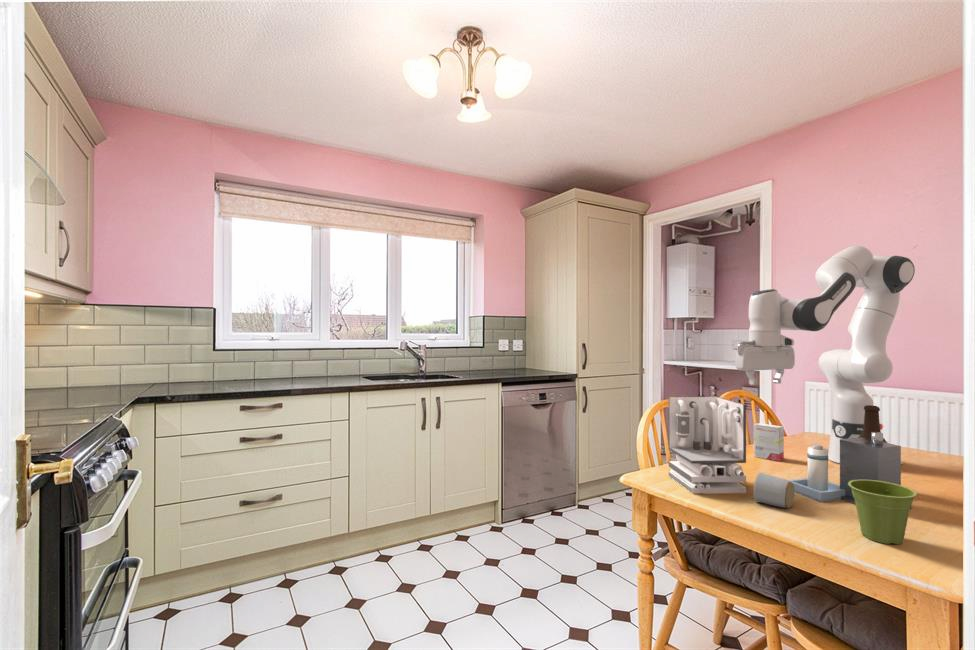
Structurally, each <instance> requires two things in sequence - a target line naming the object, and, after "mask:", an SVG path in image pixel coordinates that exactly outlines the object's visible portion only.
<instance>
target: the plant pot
mask: <svg viewBox="0 0 975 650" xmlns="http://www.w3.org/2000/svg"><path fill="white" fill-rule="evenodd" d="M848 485H849V486H850V487H851V489H852V494H853V497H854V498H855V503H856V505H855V507H856V512H857V517H858V523H859V526H860V531H861V534H862V535H863V536H865V538H867V539H869V540H871V541H873V542H878V543H880V544H886V545H887V544H888V545H889V544H894V545H900V544H903V543H904V540H905V534H906V529H907V524H908V519H909V515H910V510H911V509H910V507H911V508H912V505H913V501H914V498H915V497H918V496H917V495H918V494H917V492H916V491H915V490H913V489H912V488H909V487H906V486H904V485H902V484H901V485H897V484H893V483H889V482H883V481H877V480H852V481H849V482H848Z"/></svg>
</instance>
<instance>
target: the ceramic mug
mask: <svg viewBox="0 0 975 650" xmlns="http://www.w3.org/2000/svg"><path fill="white" fill-rule="evenodd" d="M788 480H789V479H786V478H781V477H778V476H774V475H771V474H768V473H764V472H758V474H757V475H756V476H755V479H754V485H753V499H754V501H756V502H757V503H763V504H765V505H770V506H775V507H778V508H783V509H784V508H785V509H789V508H791V507H792V505H793V502H794V499H795V492H794V485H793V483H792V482H790V481H788Z"/></svg>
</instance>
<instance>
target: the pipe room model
mask: <svg viewBox="0 0 975 650" xmlns="http://www.w3.org/2000/svg"><path fill="white" fill-rule="evenodd" d="M668 451H671V452H672V453H674V454H675V455H676V456H675V457H676V460H674V461H673V460H670V461H668V467H669V468H670V471H668V477H669V476H670V477H671V478H670V477H669V478H670V479H672V478H673V479H674V480H675V482H676V481H677V482H678V483H679V484H678V483H677V482H676V483H677V484H678V485H680V484H681V485H682V486H683V487H685V488H686V489H687V490H689V491H690V492H691V493H703V494H747V487H746V486H744V485H743V484H740V483H746V482H747V476H746V475H745V473H744V470H743V468H742V465H740V464H746V463H747V404H745V403H741V402H737V401H734V400H731V399H726V398H724V397H721V396H668ZM673 479H672V480H673ZM674 480H673V481H674ZM681 485H680V486H681ZM682 486H681V487H682ZM683 487H682V488H683ZM685 488H684V489H685ZM686 489H685V490H686ZM687 490H686V491H687ZM689 491H688V492H689ZM690 492H689V493H690ZM691 493H690V494H691Z"/></svg>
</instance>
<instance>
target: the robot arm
mask: <svg viewBox="0 0 975 650" xmlns="http://www.w3.org/2000/svg"><path fill="white" fill-rule="evenodd" d="M915 271H916V270H915V265H914V263H913V261H912V259H910V258H909V257H905V256H901V255H884V254H882V255H877V254H876V255H875V254H874V255H873V253H872V252H871V251H870V249H868V248H866V247H865V246H862V245H851V246H849V247H846V248H844V249H842V250H840V251H839V252H837V253H835V254H834V255H833V256H831V257H830V258H828V259H827V260H826V261H824V262H823V263H822V264H821V265H820V266H819V267H818V269H817V270H816V272H815V275H814V277H815V282H816V284H817V285H818V287H819V288H820V289H821V290H822V292H821V293H820V294H819V295H817V296H815V297H810V298H803V299H802V298H800V299H789V298H786V297H784V296H783V295H781V294H780V293H779V291H778V290H777V289H774V288H773V289H772V288H771V289H764V290H758V291H755V292H753V293H751V295H750V297H749V303H748V320H749V329H748V340H747V341H746V340H743V341H740V342H739V343H738V344H737V348H736V352H735V353H736V355H735V364H734V365H735V366H734V367H735V368H736V370H737V371H743V372H745V375H746V377H747V378H748V384H749V385H751V386H756V385H758V379H757V378H755V372H756V371H769V370H774V371H775V373H776V374H775V376H774V377H772V383H773V384H777V385H779V384H782V378H783V376H784V374H785V370H792V369H793V368H794V366H795V363H796V359H795V349H794V347H793V346H794V345H795V340H794V339H793V338H791V337H789V336H785V335H783V334H782V331H784V330H785V331H806V332H807V331H808V332H819V331H822V330H823V329H824V328H825V327H827V325H828V324H829V322H830V320H831V319H832V316H833V315H834V313H835V312H836V311H837V310H838V309H839V307H840V306H841V305H842V304H843V303H844V302H845V301H846V299H848V298H849V297H850V295H851V294H852V293H853V291H854V289H856V287H857V288H863V289H864V291H863V294H862V296H861V297H860V299H859V301H858V303H857V305H856V307H855V309H854V312H853V314H852V317H851V318H850V319H851V320H850V321H849V324H848V326H847V332H848V334H849V335H850V337H851V345H850V348H849V349H847V348H835V349H832V350H831V349H830V350H827V351H824V352H823V353H822V354H821V355H820V356H819V358H818V368H819V370H820V372H821V373H823V375H824V377H826V380H827V382H828V384H829V388H830V390H831V394H832V400H833V401H832V404H833V419H831V421H832V422H831V429H832V430H833V431H832V432H831V433H830V437H829V446H828V461H831V462H834V463H837V464H840V439H849V438H858V437H859V436H860V435H861V434H862V432H863V428H864V415H865V410H864V406H866V405H873V406H874V400H873V398H872V396H870V394H869V393H867V391H866V389H865V387H864V384H876V383H882V382H883V383H884V382H885V381H887V380H888V379H889V378H890V377H891V376H892V374H893V369H894V368H893V367H894V366H893V362H892V360H890V358H889V357H888V354H887V350H886V347H887V339H888V336H889V332H890V330H891V327H892V325H893V323H894V319H895V316H896V314H897V312H898V308H899V304H900V299H901V291H902V290H904V289H905V287H907V286H908V285H909V284H910V283H911V282H912V280H913V279H914V276H915ZM883 428H884V425H883V423H880V431H882V430H883ZM886 442H887V443H889V442H888V441H887V440H886ZM903 464H904V463H903V461H902V460H901V465H903Z"/></svg>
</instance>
